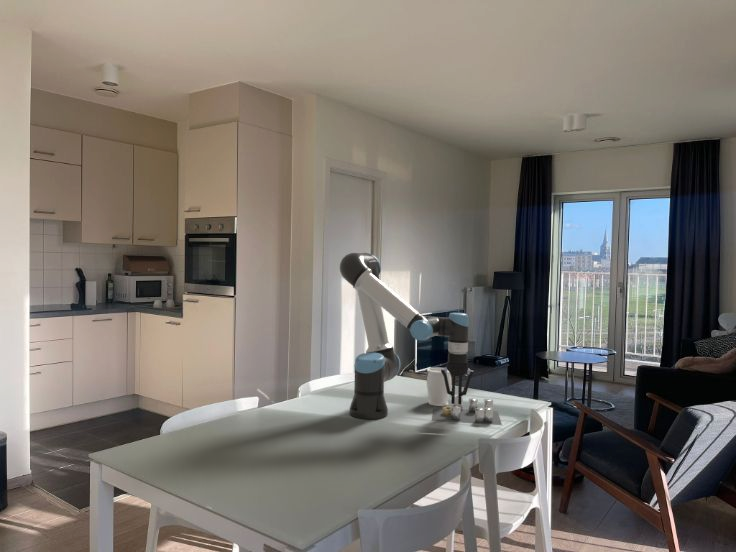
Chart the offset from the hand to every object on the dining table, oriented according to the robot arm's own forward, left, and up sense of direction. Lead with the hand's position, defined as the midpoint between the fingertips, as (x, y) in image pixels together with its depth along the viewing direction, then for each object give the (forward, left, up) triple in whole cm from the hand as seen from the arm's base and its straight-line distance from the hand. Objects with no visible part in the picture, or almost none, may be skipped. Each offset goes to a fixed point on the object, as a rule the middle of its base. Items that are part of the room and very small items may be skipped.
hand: (456, 412), depth 224 cm
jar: (-7, +17, -2) cm, 18 cm away
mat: (+4, 0, -2) cm, 4 cm away
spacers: (+6, 0, -1) cm, 7 cm away
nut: (-3, 0, -1) cm, 3 cm away
